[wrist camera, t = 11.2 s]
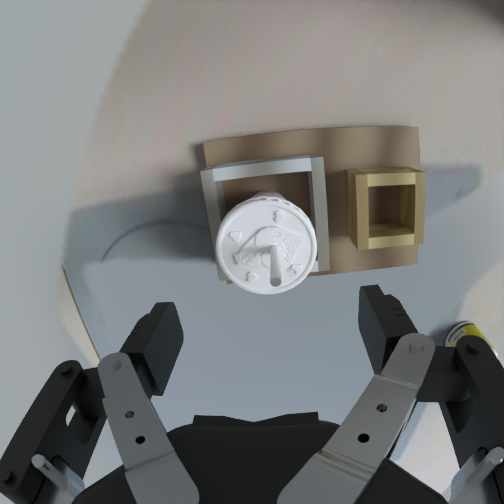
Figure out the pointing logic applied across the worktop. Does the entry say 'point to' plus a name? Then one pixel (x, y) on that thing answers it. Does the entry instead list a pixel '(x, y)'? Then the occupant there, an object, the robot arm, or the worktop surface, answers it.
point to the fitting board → (329, 190)
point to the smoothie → (266, 244)
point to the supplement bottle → (463, 330)
